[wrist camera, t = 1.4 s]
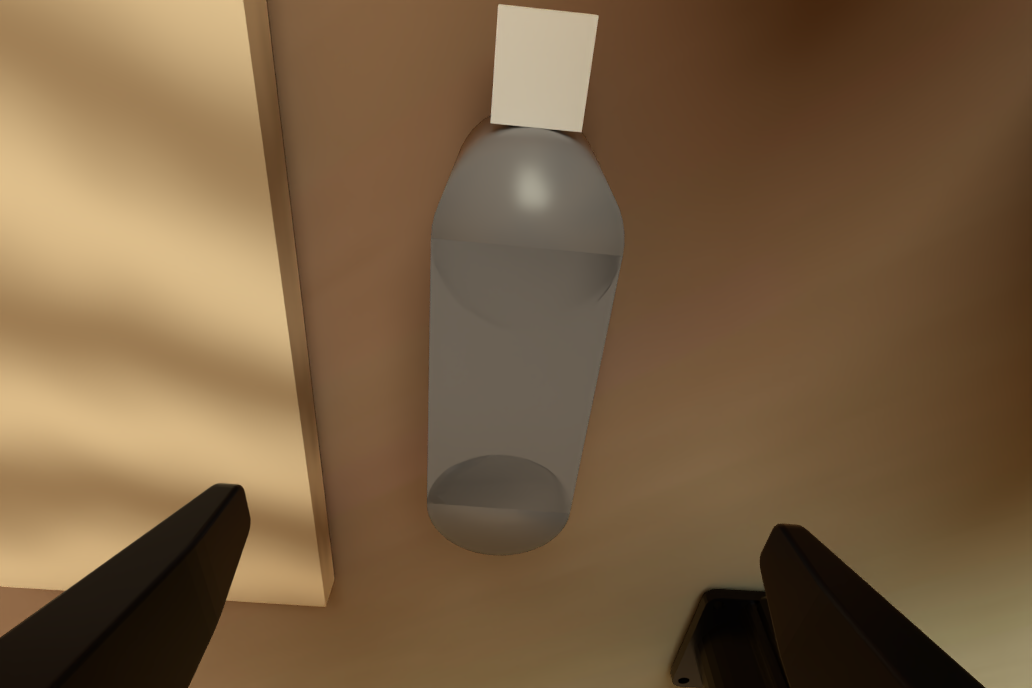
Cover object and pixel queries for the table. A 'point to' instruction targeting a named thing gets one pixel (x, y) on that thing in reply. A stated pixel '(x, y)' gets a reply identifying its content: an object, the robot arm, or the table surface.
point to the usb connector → (520, 294)
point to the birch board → (150, 292)
